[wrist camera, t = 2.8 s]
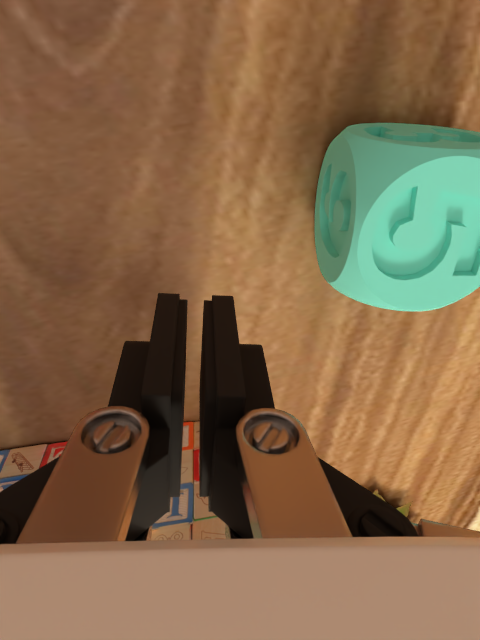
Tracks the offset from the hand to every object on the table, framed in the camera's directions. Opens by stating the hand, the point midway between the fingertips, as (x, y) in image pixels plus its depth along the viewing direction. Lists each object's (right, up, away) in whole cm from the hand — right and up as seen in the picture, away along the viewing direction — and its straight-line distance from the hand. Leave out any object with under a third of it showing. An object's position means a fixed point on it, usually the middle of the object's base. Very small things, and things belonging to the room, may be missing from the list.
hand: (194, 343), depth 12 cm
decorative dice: (+10, +9, +16) cm, 21 cm away
